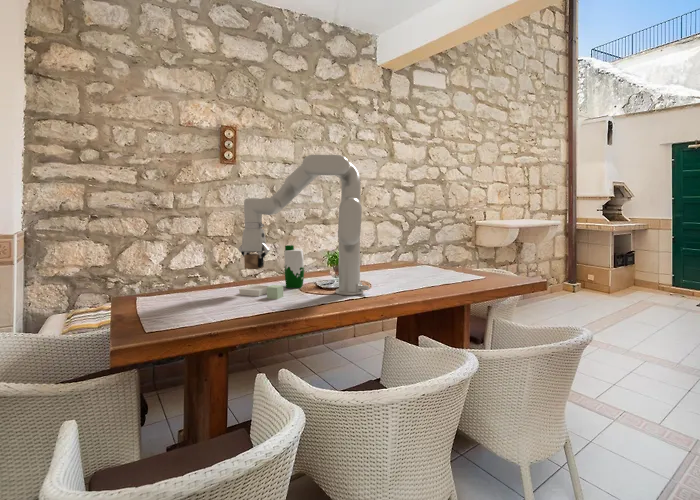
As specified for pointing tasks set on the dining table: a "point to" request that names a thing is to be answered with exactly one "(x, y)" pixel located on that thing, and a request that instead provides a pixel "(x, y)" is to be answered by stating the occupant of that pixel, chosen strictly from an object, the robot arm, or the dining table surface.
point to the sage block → (274, 291)
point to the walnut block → (251, 261)
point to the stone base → (253, 290)
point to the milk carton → (294, 267)
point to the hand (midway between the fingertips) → (254, 266)
